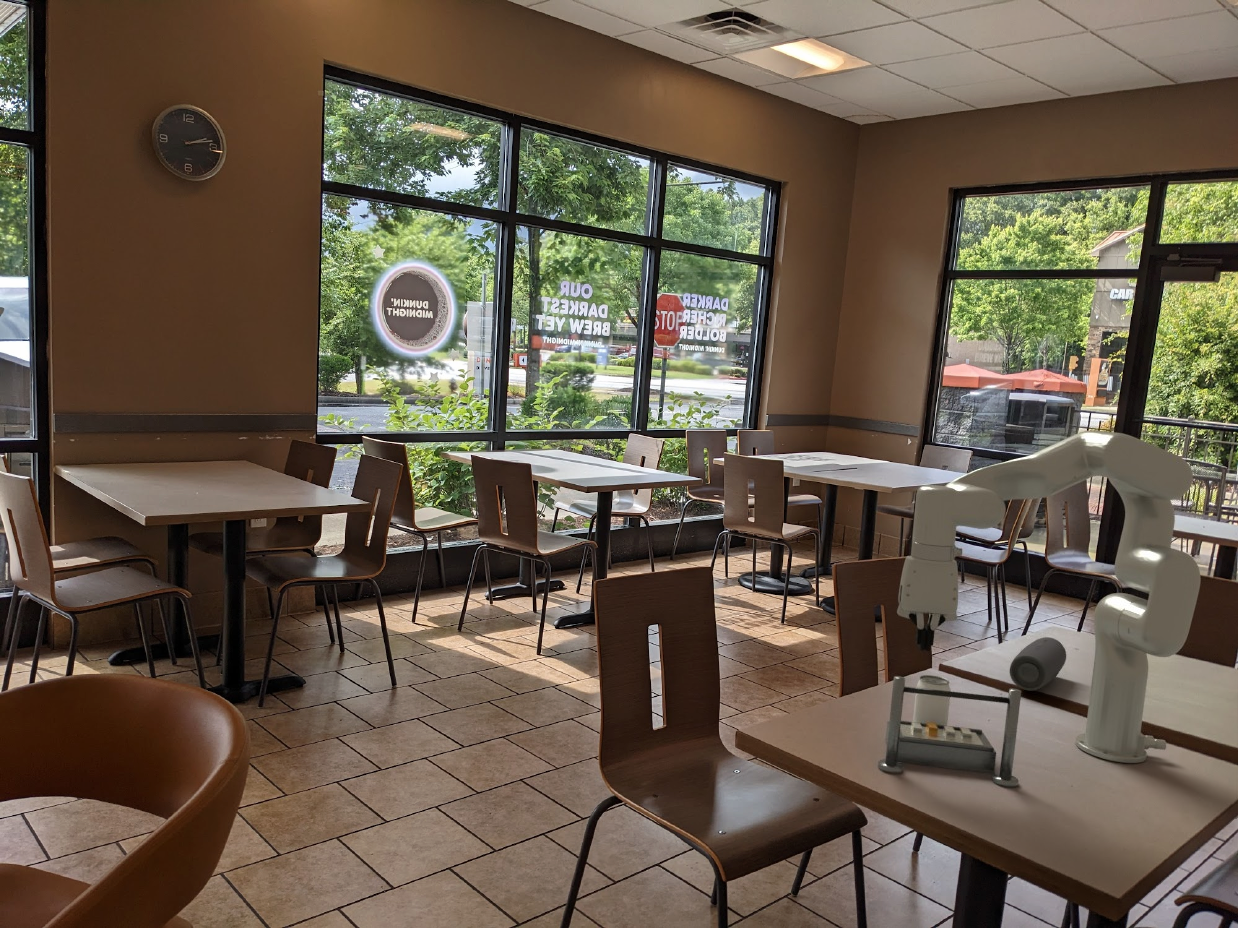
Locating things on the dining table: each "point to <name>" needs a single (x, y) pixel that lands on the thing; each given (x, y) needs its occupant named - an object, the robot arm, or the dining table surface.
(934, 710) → the can
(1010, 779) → the cord stand
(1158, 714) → the dining table surface
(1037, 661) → the bluetooth speaker
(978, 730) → the breaker panel
